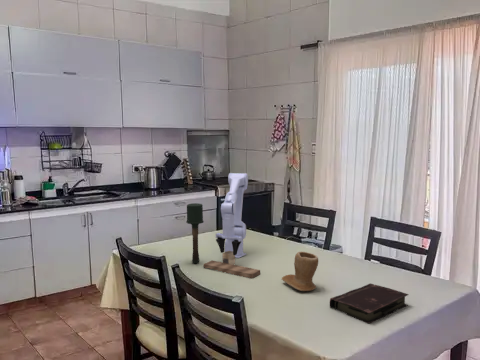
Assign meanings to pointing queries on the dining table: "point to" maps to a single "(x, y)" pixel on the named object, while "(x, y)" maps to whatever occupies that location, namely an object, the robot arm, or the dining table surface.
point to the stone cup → (303, 272)
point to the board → (232, 269)
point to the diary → (369, 302)
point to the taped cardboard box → (228, 257)
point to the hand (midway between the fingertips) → (228, 253)
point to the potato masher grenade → (195, 226)
